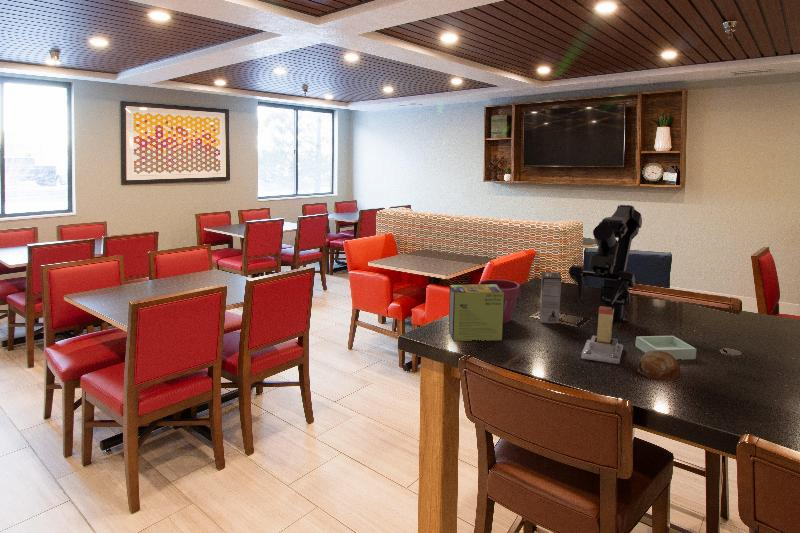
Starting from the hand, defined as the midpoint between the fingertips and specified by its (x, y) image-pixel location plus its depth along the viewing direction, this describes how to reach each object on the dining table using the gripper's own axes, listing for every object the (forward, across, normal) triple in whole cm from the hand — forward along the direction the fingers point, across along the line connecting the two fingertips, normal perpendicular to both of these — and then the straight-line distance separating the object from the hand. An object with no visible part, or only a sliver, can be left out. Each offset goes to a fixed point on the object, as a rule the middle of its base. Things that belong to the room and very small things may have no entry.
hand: (595, 301), depth 167 cm
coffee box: (+2, -19, +20) cm, 27 cm away
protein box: (+19, -33, -5) cm, 38 cm away
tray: (+9, +20, +9) cm, 24 cm away
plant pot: (+8, -34, +12) cm, 37 cm away
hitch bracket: (+16, +5, 0) cm, 16 cm away
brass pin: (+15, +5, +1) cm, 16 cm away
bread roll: (+20, +21, -5) cm, 29 cm away
